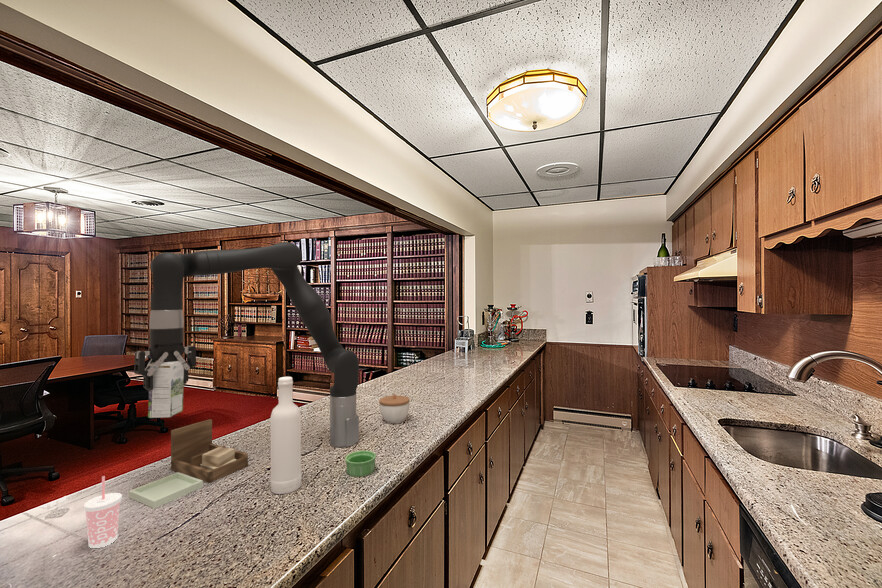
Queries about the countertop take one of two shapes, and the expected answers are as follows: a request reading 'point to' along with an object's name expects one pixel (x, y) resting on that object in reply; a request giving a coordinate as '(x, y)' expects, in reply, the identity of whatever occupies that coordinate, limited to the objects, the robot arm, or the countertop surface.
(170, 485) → the tray
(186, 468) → the open box
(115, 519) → the beverage cup
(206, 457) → the offcut top
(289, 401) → the bottle
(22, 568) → the countertop surface
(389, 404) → the white lidded bowl
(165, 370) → the syrup box
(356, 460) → the ramekin
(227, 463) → the offcut low
